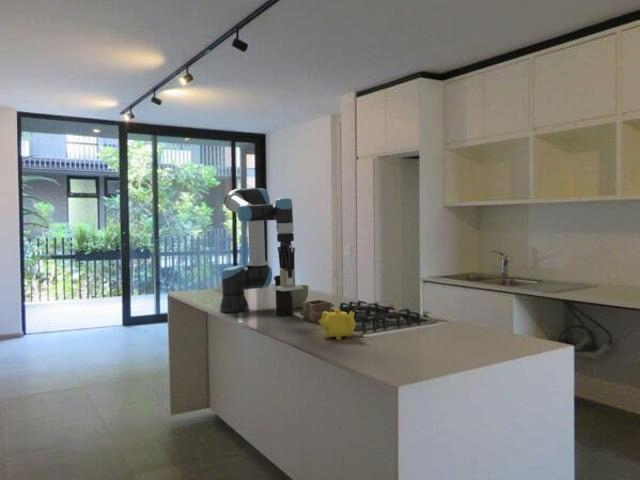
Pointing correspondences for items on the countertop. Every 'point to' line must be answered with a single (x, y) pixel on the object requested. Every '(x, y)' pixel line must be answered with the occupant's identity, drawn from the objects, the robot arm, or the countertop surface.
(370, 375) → the countertop surface
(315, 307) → the crate
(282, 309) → the container
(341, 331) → the yellow rounded knobbed block
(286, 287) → the beige block on base
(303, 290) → the planter bowl
